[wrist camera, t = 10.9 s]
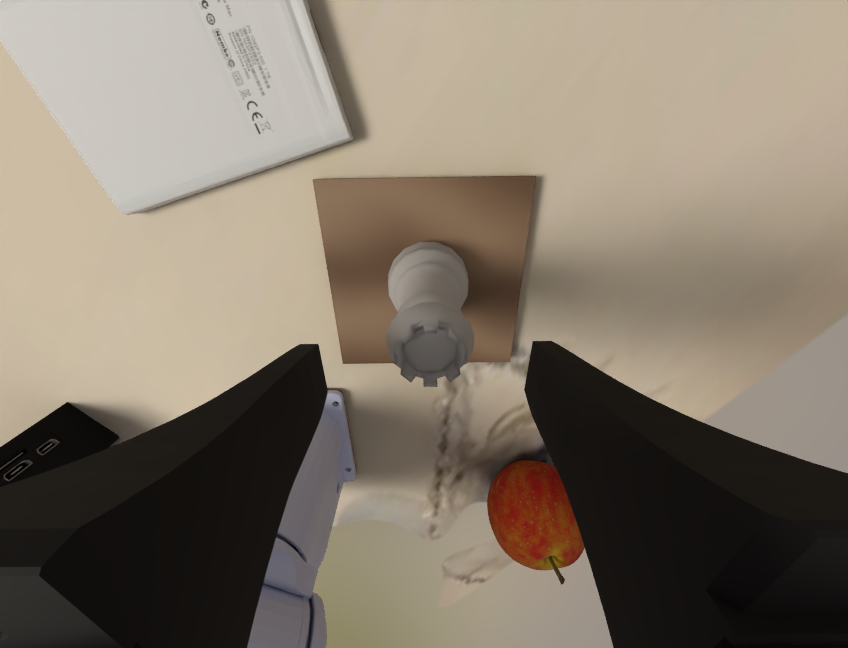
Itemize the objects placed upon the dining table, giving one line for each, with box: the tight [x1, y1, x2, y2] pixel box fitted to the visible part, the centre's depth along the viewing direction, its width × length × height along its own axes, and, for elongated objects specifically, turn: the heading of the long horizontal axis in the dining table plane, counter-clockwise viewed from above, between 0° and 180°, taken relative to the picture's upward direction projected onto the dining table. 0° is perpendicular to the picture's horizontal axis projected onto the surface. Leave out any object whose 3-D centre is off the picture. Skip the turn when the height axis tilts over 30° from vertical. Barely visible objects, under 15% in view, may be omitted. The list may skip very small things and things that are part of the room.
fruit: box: [487, 460, 585, 584], centre depth 23 cm, size 7×7×8 cm
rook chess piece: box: [386, 242, 475, 387], centre depth 14 cm, size 4×4×8 cm
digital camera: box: [0, 403, 119, 487], centre depth 22 cm, size 10×5×7 cm, turn 122°
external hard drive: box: [0, 0, 354, 215], centre depth 14 cm, size 2×8×12 cm
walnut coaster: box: [313, 176, 536, 364], centre depth 18 cm, size 11×11×1 cm
